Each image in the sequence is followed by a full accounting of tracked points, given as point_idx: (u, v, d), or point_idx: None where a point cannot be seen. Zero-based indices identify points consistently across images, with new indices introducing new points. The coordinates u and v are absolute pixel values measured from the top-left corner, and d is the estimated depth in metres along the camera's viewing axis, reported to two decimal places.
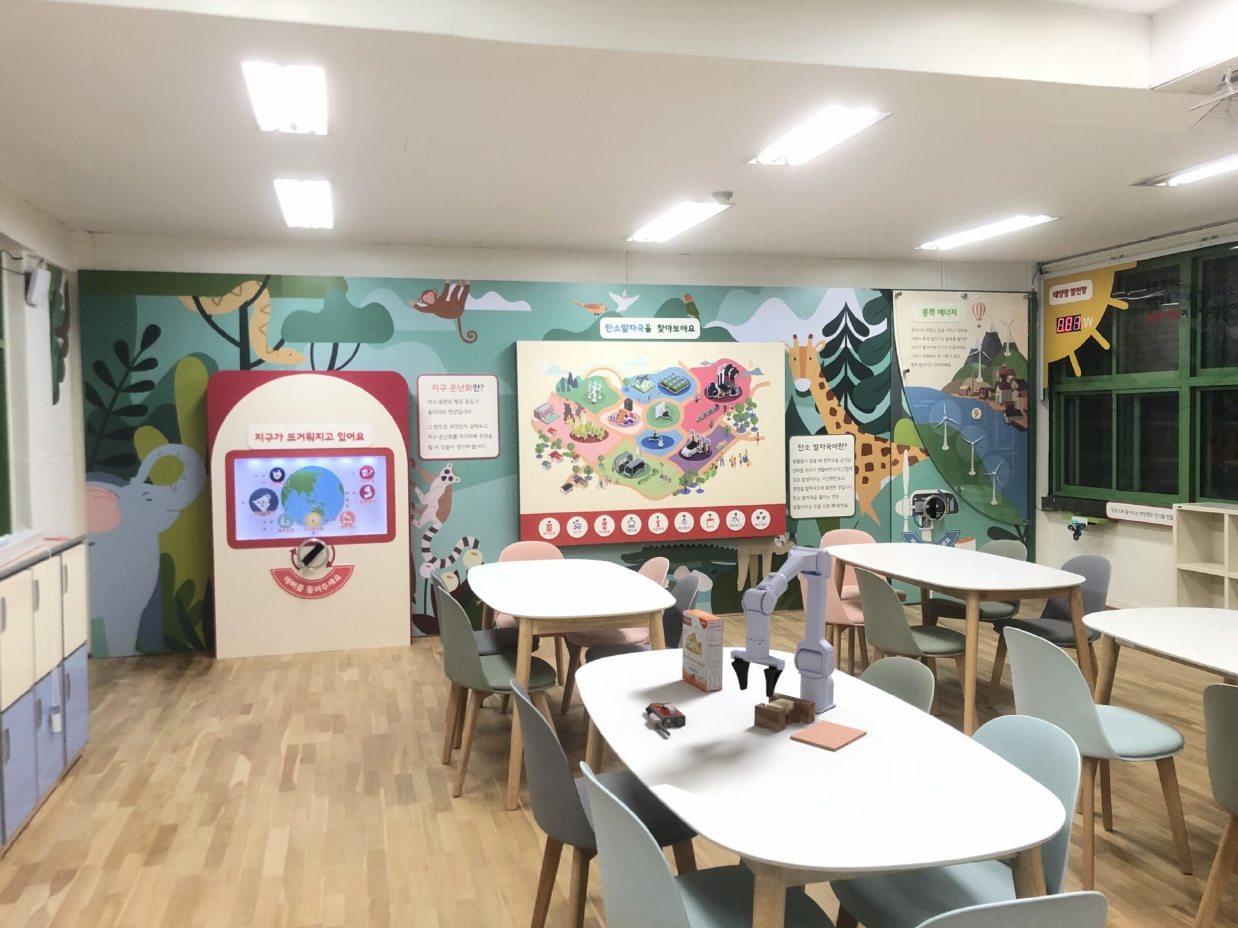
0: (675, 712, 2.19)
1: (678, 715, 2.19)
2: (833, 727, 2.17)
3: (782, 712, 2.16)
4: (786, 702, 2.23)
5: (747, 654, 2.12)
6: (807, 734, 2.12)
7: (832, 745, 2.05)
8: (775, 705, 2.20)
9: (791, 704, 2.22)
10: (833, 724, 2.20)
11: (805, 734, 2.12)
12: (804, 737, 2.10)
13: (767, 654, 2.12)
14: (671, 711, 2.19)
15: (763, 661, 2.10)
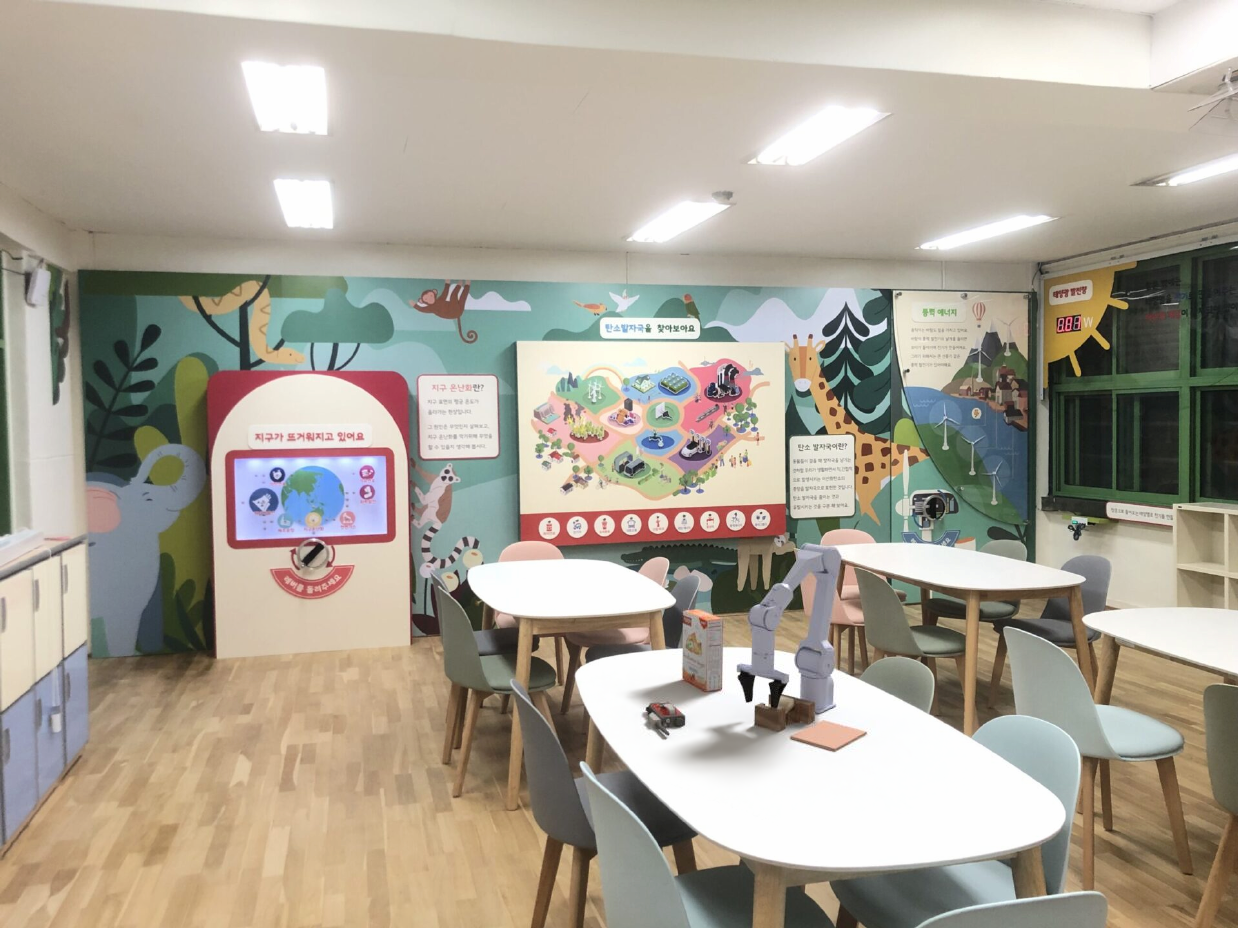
0: (675, 712, 2.19)
1: (678, 715, 2.19)
2: (833, 727, 2.17)
3: (782, 712, 2.16)
4: (785, 701, 2.22)
5: (753, 668, 2.21)
6: (807, 734, 2.12)
7: (832, 745, 2.05)
8: None
9: (790, 702, 2.22)
10: (833, 724, 2.20)
11: (805, 734, 2.12)
12: (804, 737, 2.10)
13: (772, 668, 2.20)
14: (671, 711, 2.19)
15: (768, 675, 2.18)
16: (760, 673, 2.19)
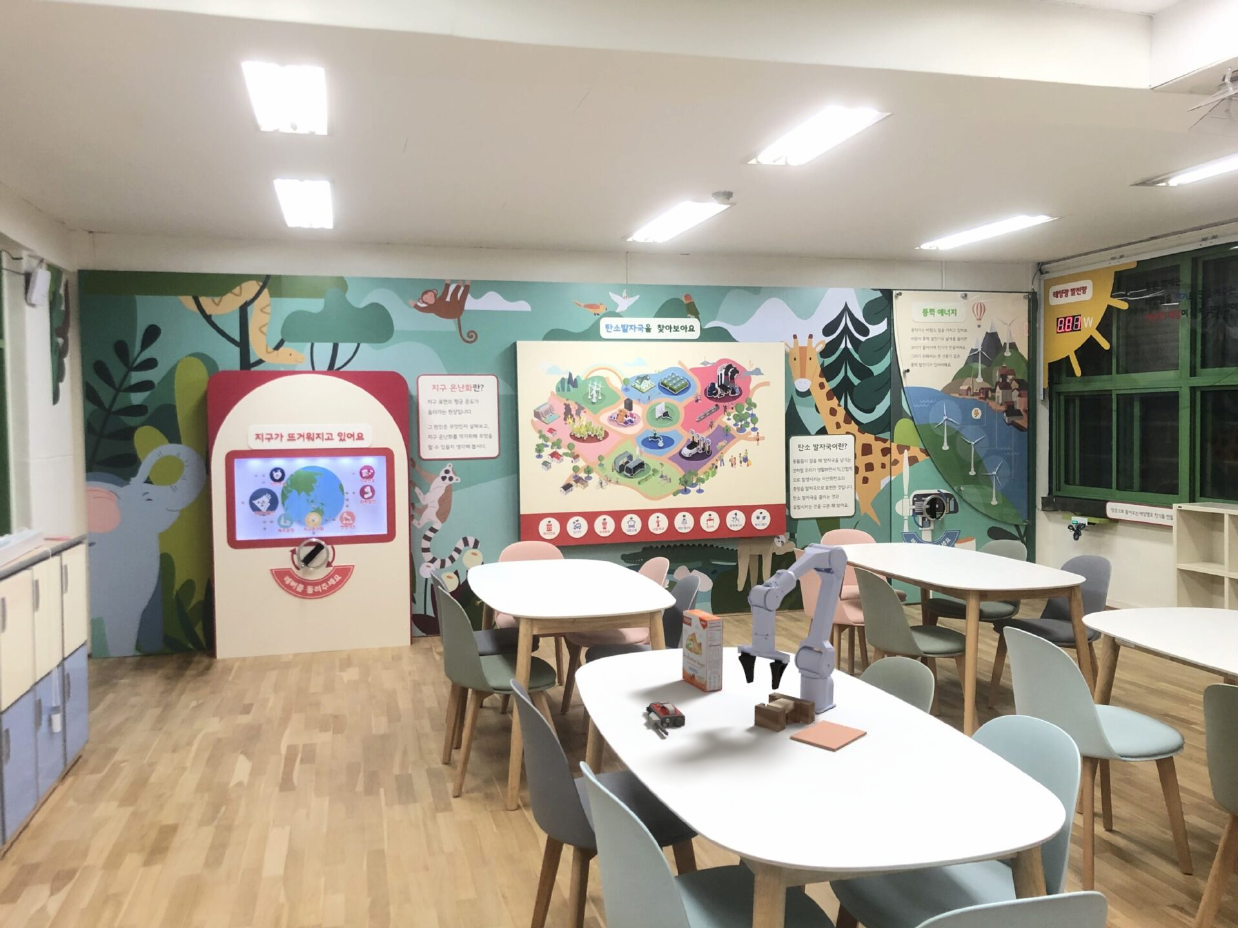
0: (674, 712, 2.19)
1: (677, 715, 2.19)
2: (833, 727, 2.17)
3: (782, 712, 2.16)
4: (787, 702, 2.23)
5: (753, 648, 2.21)
6: (807, 734, 2.12)
7: (832, 745, 2.05)
8: (775, 705, 2.20)
9: (791, 704, 2.23)
10: (833, 724, 2.20)
11: (805, 734, 2.12)
12: (804, 737, 2.10)
13: (773, 648, 2.20)
14: (670, 711, 2.19)
15: (769, 655, 2.18)
16: (761, 653, 2.19)
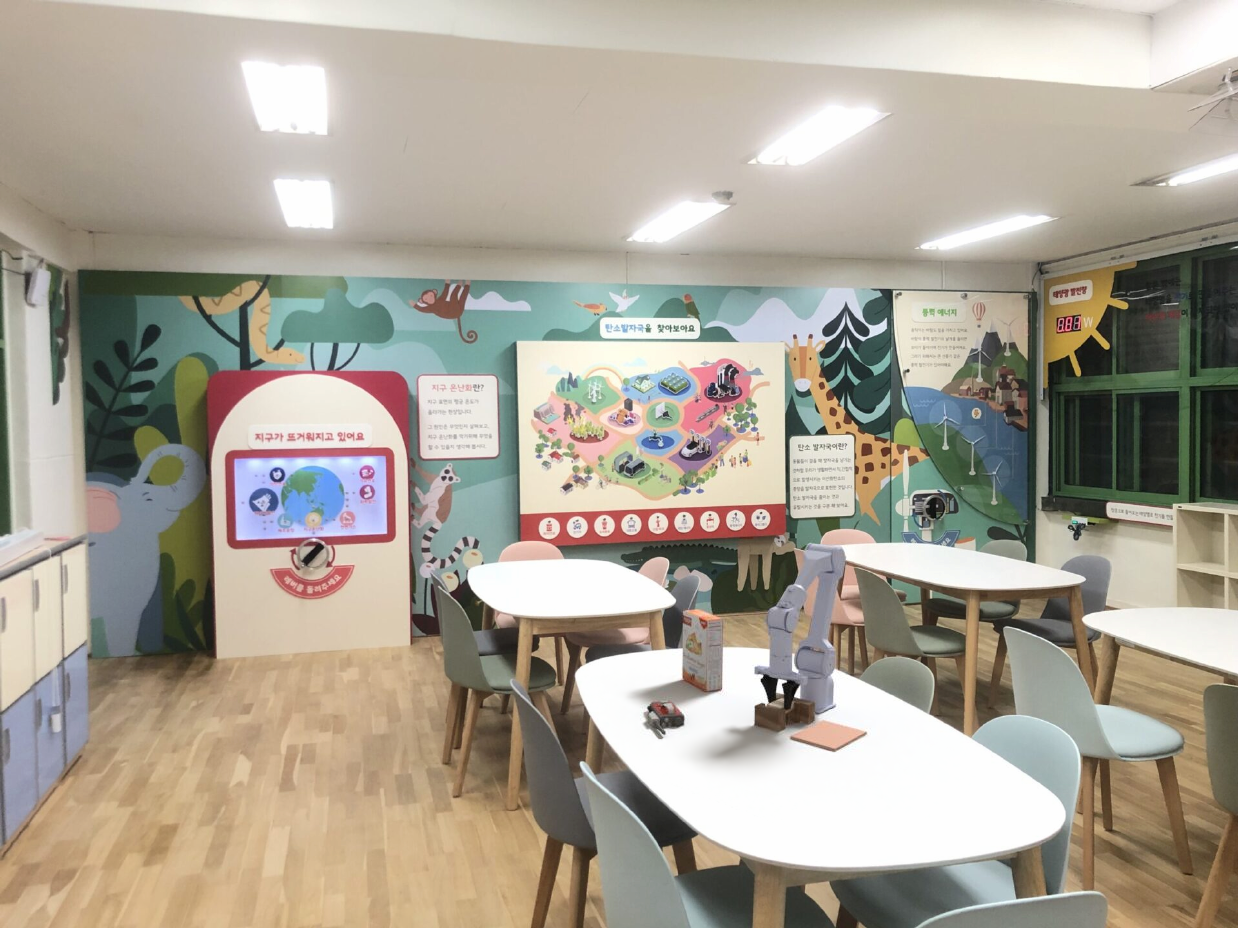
0: (674, 711, 2.20)
1: (676, 714, 2.19)
2: (833, 727, 2.17)
3: (782, 712, 2.16)
4: None
5: (771, 670, 2.21)
6: (807, 734, 2.12)
7: (832, 745, 2.05)
8: (775, 705, 2.20)
9: None
10: (833, 724, 2.20)
11: (805, 734, 2.12)
12: (804, 737, 2.10)
13: (790, 670, 2.20)
14: (670, 710, 2.19)
15: (786, 677, 2.18)
16: (778, 675, 2.19)
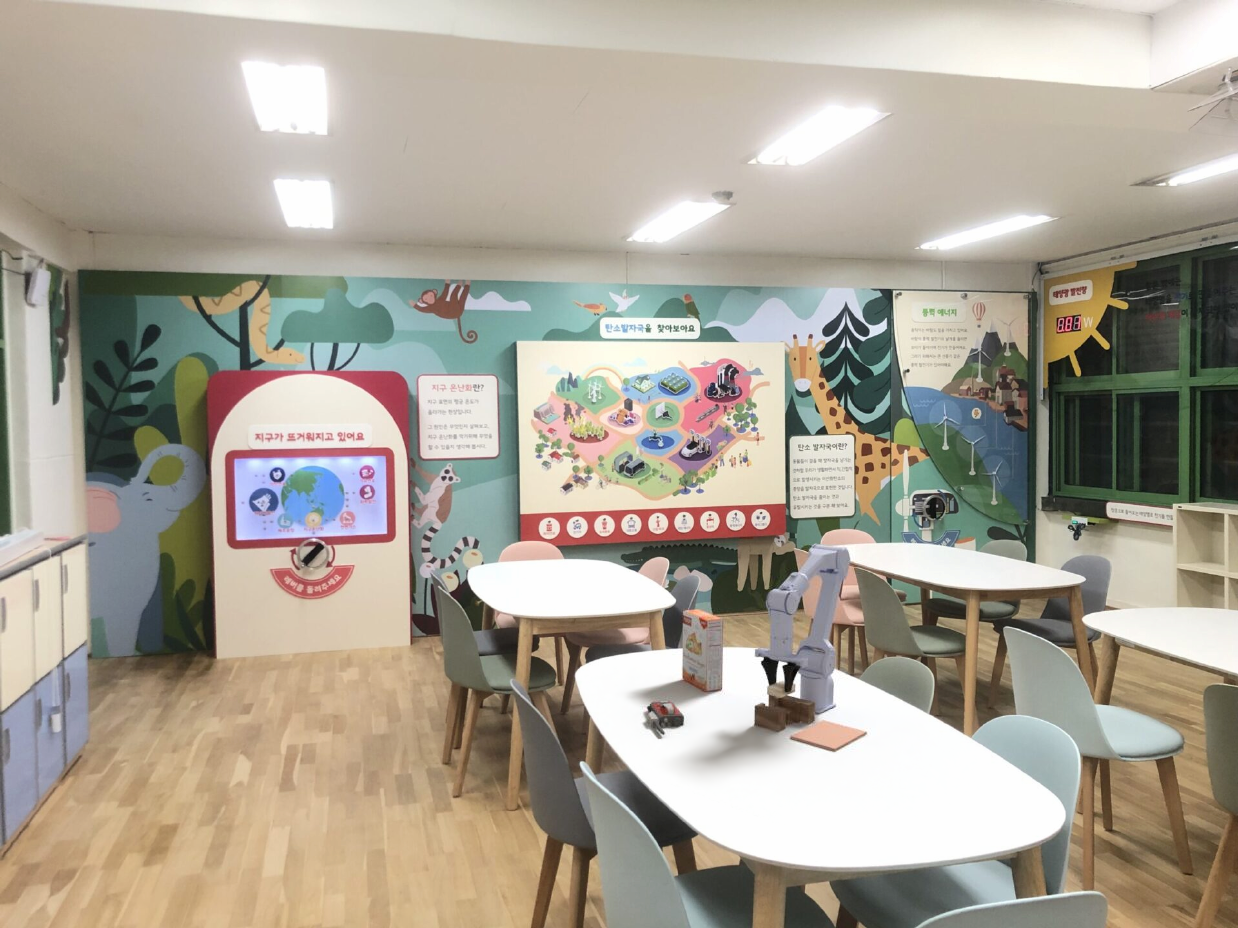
0: (673, 711, 2.20)
1: (676, 714, 2.19)
2: (833, 727, 2.17)
3: (782, 712, 2.16)
4: None
5: (771, 652, 2.20)
6: (807, 734, 2.12)
7: (832, 745, 2.05)
8: (776, 687, 2.20)
9: (792, 686, 2.22)
10: (833, 724, 2.20)
11: (805, 734, 2.12)
12: (804, 737, 2.10)
13: (791, 652, 2.20)
14: (669, 710, 2.19)
15: (787, 659, 2.18)
16: (779, 657, 2.19)
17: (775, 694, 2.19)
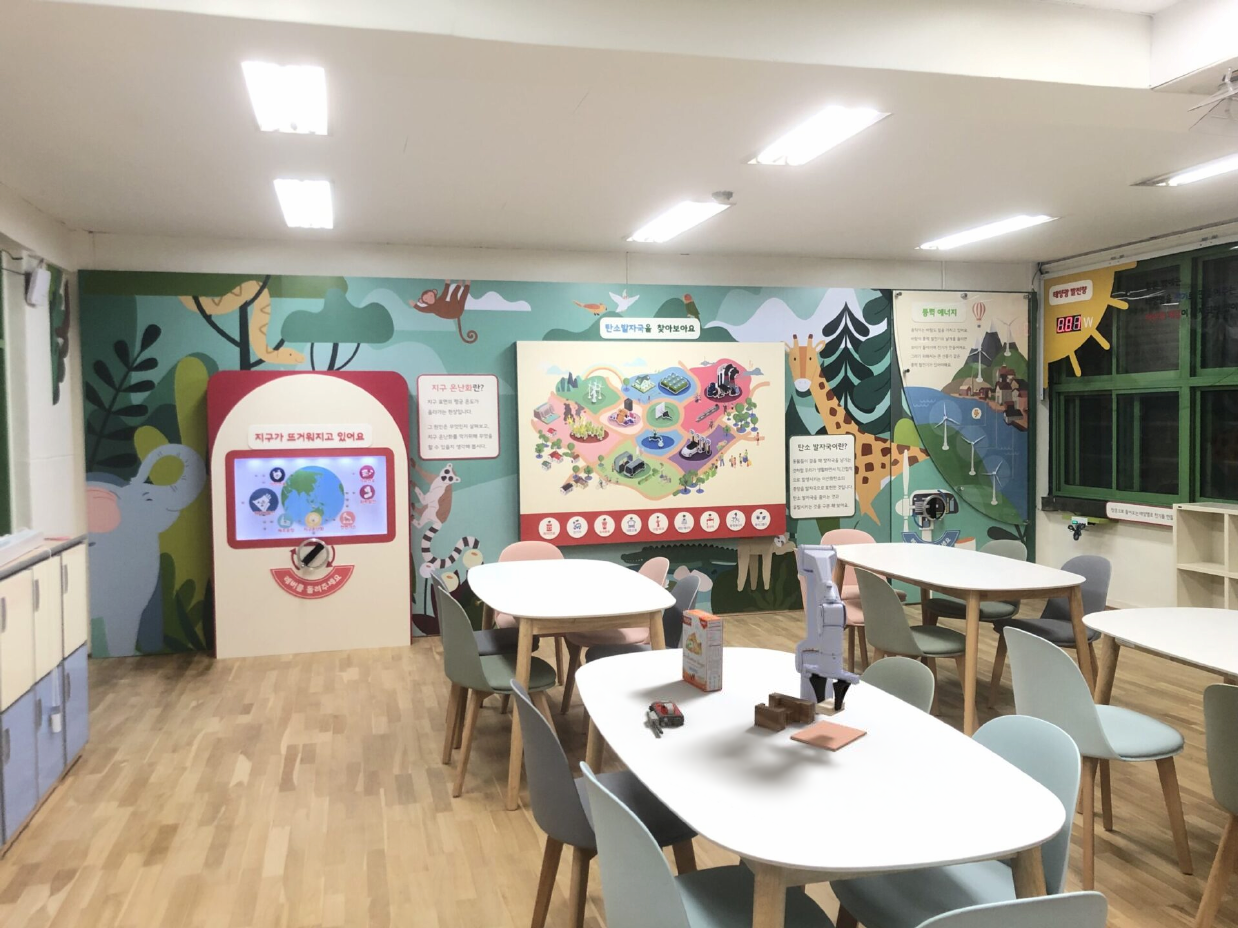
0: (673, 711, 2.20)
1: (676, 714, 2.19)
2: (833, 727, 2.17)
3: (782, 712, 2.16)
4: None
5: (820, 669, 2.11)
6: (807, 734, 2.12)
7: (832, 745, 2.05)
8: (825, 705, 2.11)
9: None
10: (833, 724, 2.20)
11: (805, 734, 2.12)
12: (804, 737, 2.10)
13: (841, 669, 2.10)
14: (669, 710, 2.20)
15: (837, 676, 2.08)
16: (829, 674, 2.09)
17: (824, 712, 2.10)
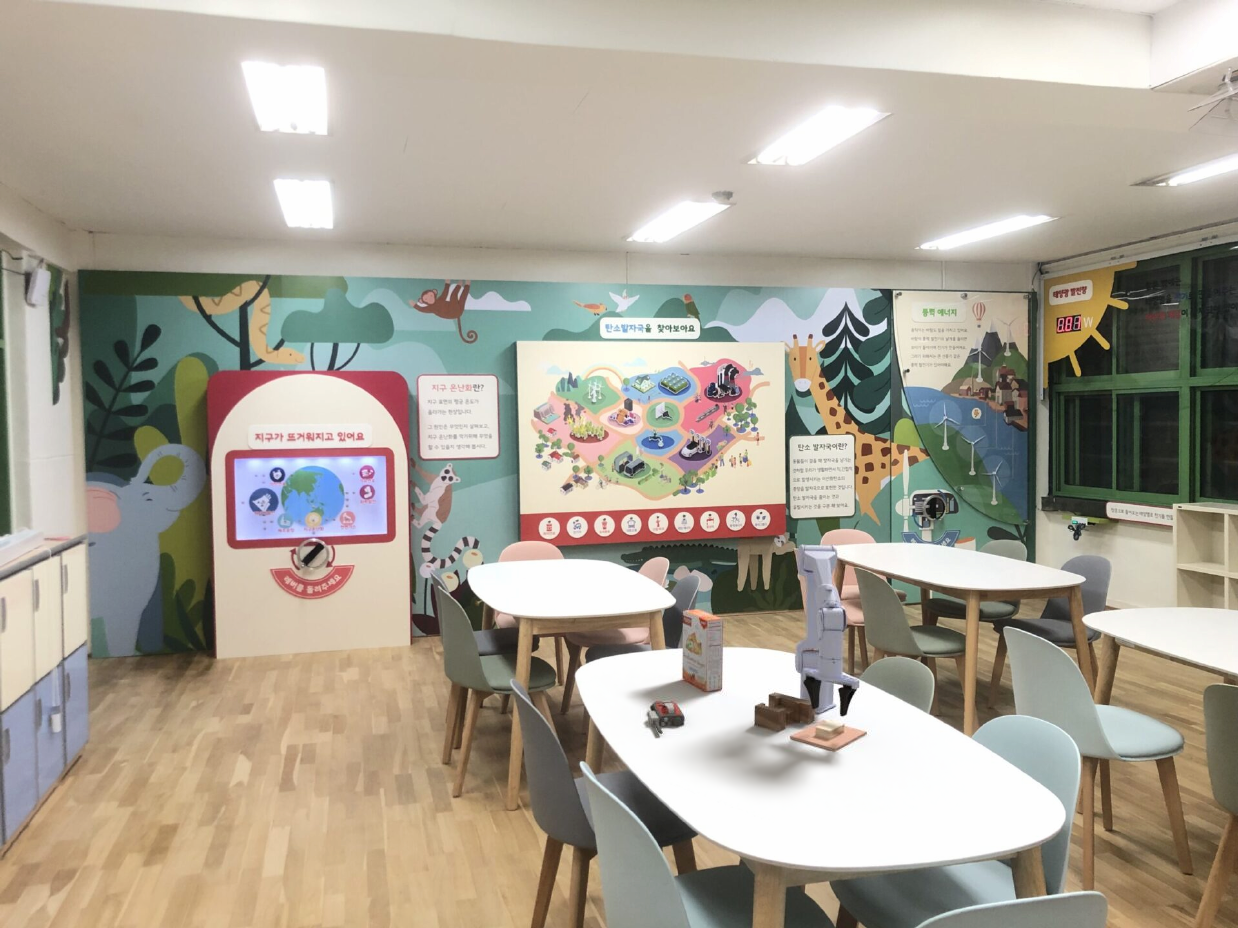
0: (674, 711, 2.20)
1: (676, 714, 2.19)
2: None
3: (782, 712, 2.16)
4: (836, 725, 2.13)
5: (820, 673, 2.11)
6: (807, 734, 2.12)
7: (832, 745, 2.05)
8: (825, 728, 2.11)
9: (841, 727, 2.13)
10: None
11: (805, 734, 2.12)
12: (804, 737, 2.10)
13: (841, 673, 2.10)
14: (669, 710, 2.20)
15: (837, 680, 2.08)
16: (829, 678, 2.09)
17: (824, 735, 2.10)
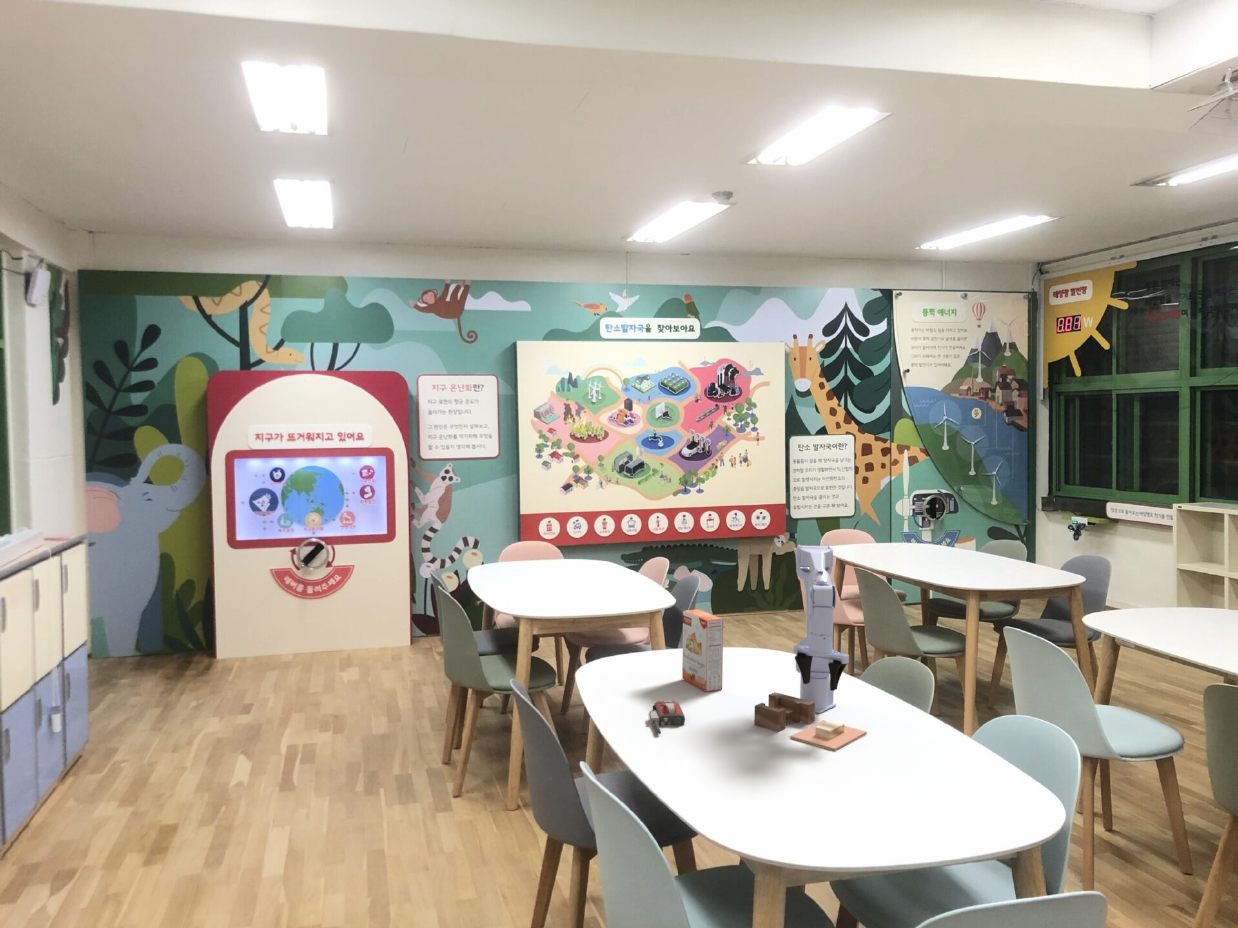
0: (674, 711, 2.20)
1: (676, 714, 2.19)
2: None
3: (782, 712, 2.16)
4: (836, 725, 2.13)
5: (811, 649, 2.17)
6: (807, 734, 2.12)
7: (832, 745, 2.05)
8: (825, 728, 2.11)
9: (841, 727, 2.13)
10: None
11: (805, 734, 2.12)
12: (804, 737, 2.10)
13: (831, 649, 2.17)
14: (670, 710, 2.20)
15: (827, 655, 2.15)
16: (819, 654, 2.15)
17: (824, 735, 2.10)
